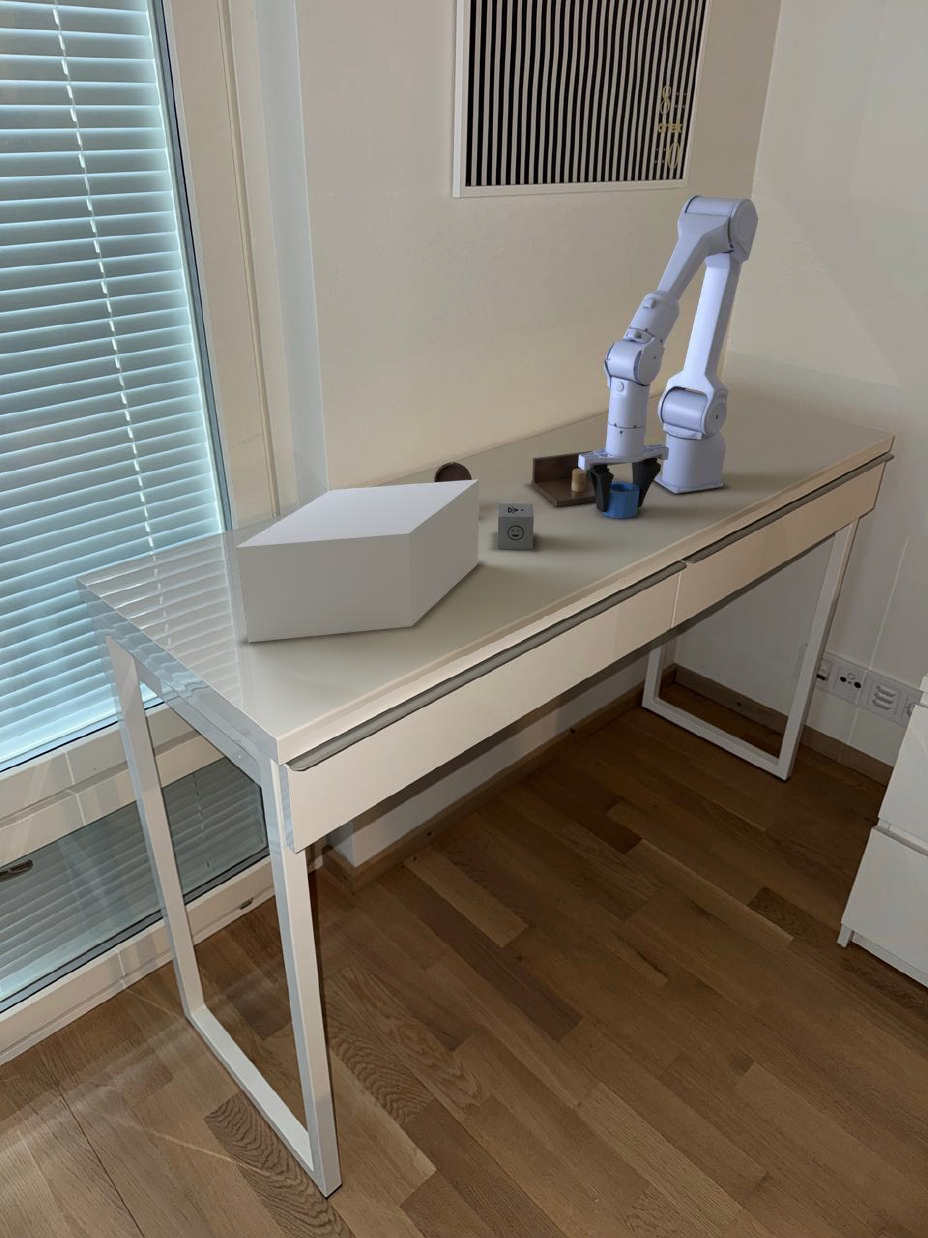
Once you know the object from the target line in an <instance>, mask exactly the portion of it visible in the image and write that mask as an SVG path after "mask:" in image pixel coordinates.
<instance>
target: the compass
mask: <svg viewBox="0 0 928 1238" xmlns="http://www.w3.org/2000/svg"><path fill="white" fill-rule="evenodd" d="M463 480H473V479H472V474H471V472H470V471H469V469H467V467H466V466H465V465H463V464H461V463H458V462H456V461H452V462H450V461H449V462H446V463H444V464H443V465H441V466H440V467H438V469H437V470H436V471H435V474H434V477H433V483H435V482H449V481H463Z"/></svg>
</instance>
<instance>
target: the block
mask: <svg viewBox="0 0 928 1238" xmlns="http://www.w3.org/2000/svg"><path fill="white" fill-rule="evenodd" d="M479 521H480V479H472V480H463V481H449V482H435V483H434V482H423V483H421V482H420V483H410V484H395V485H382V486H381V485H380V486H367V487H365V486H364V487H352V488H340V489H330V490H328V491H326V492H325V493H323V494H322V495H320V496H318V497H317V498H315V499H313V500H312V501H310V502H309V503H306V504H305V505H303V506H302V507H300V508H298V509H297V510H295V511H293V512H292V513H290V514H288V515H287V516H285V517H284V518H282V519H280V520H278V521H277V522H275V523H274V524H272V525H270V526H268V527H267V528H265V529H263V530H262V531H260V532H259V533H257V534H255V535H254V536H252V537H250V538H249V539H247V540H245V541H244V542H242V543H240V544H239V545H237V546H235V551H236V560H237V567H238V575H239V581H240V589H241V597H242V604H243V611H244V612H243V613H244V620H245V626H246V627H245V628H246V634H247V635H246V636H247V641H248V643H255V642H266V641H275V640H285V639H286V640H288V639H297V638H298V639H299V638H306V637H316V636H317V637H318V636H328V635H337V634H347V633H348V634H349V633H357V632H367V631H368V632H369V631H377V630H387V629H398V628H399V629H400V628H408V627H412V626H414V625H415V624H416V623H417V622H418V621H419V620H420V619H421V618H422V617H423V616H424V615H425V614H427V613H428V612H429V610H431V609H432V608H433V607H434V606H435V605H436V604H437V603H438V602H439V601H440V600H441V599H442V598H443V597H445V596H446V595H447V594H448V593H449V592H450V591H451V590H452V589H453V588H454V587H455V586H456V585H457V584H459V582H460V581H462V580H463V579H464V578H465V576H467V574H469V573H470V572H472V570H473V569H474V568H475V567H476V566H477V565H478V564H479V537H480V536H479V528H480V527H479V526H480V525H479V524H480V523H479Z"/></svg>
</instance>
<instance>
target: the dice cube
mask: <svg viewBox="0 0 928 1238" xmlns="http://www.w3.org/2000/svg"><path fill="white" fill-rule="evenodd" d="M497 504H498V508H497V512H498V513H497V549H498V550H533V546H534V521H535V516H534V504H533V503H513V502H511V503H509V502H508V503H505V502H498V503H497Z"/></svg>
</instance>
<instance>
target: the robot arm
mask: <svg viewBox="0 0 928 1238" xmlns="http://www.w3.org/2000/svg"><path fill="white" fill-rule="evenodd" d="M758 224H759V217H758V213H757V209H756V206H755V203H754V202H753V200H752V199H751V198H729V197H728V198H727V197H712V196H702V195H698V194H694V195H692V196H690V197H689V198H687V200H686V202H685V203H684V205H683V206H682V209H681V211H680V215H679V217H678V218H677V228H676V229H677V236H678V240H677V241H676V244H675V247H674V248H673V252H672V254H671V256H670V258H669V261H668V263H667V264H666V266H665V267H666V268H665V270H664V272H663V274H662V277H661V278H660V279H661V280H660V282H659V284H658V286H657V288H656V290H655V291H652V292H649V293H647V294H646V295H645V296H644V297H643V299H642V301H641V302H640V305H639V307H638V309H637V311H636V312H635V314H634V316H633V318H632V320H631V322H630V324H629V326H628V328H627V329H626V331H625V333H624V335H623V336H622V338H620V339H618V340H617V341H614V342H613V343H611V345H610V346H609V348H608V350H607V352H606V356H605V359H604V360H603V370H604V373H605V375H606V377H607V382H606V384H607V385H606V387H607V389H608V390H609V404H608V416H607V430H606V431H607V432H606V441H605V447H603V448H600V449H596V450H592V451H593V452H589V453H585V454H579V462H578V467H580V468H581V469H583V470H584V471H585V470H586V471H587V473H588V475H589V478H590V480H591V483H592V486H593V489H594V493H595V498H596V501H595V505H596V509H597V510H598V511H600V513H602V512H607V509H608V500H609V491H610V487H611V483H612V482H613V480H614V477H615V474H614V473H613V472H611V471H610V468H609V466H616V465H624V464H631V471H632V483H633V484H635V485H637V486H638V487H639V499H638V508H641V507H643V503H644V501H645V499H646V495H647V494H648V491H649V489H650V487H651V485H652V483H653V482H654V481H655V482H656V483H658V484H659V485H660V486H663V487H664V488H666V489H667V490H668V491H670V492H672V493H673V494H684V493H691V492H698V491H704V490H710V489H711V490H712V489H717V488H723V487H724V483H723V482H722V477H723V471H724V464H725V457H726V441H725V437H724V435H723V434H722V432H720V430H721V429H722V427H723V426H724V424H725V421H726V419H727V414H728V408H727V407H728V406H727V404H728V396H729V390H728V388H727V386H726V385H725V384H724V383H723V382H722V380H721V379H720V378H719V377H718V375H717V371H718V367H719V365H720V358H721V355H722V351H723V346H724V342H725V338H726V334H727V329H728V326H729V321H730V319H731V318H730V317H731V314H732V309H733V305H734V301H735V297H736V292H737V288H738V285H739V280H740V276H741V271H742V268H743V263H744V262H746V261H748V260H749V259H750V256H751V251H752V249H753V244H754V240H755V237H756V232H757V229H758ZM703 262H704V264H705V265H706V269H705V273H704V277H703V280H702V281H703V282H702V285H701V291H700V293H699V294H700V295H699V299H698V304H697V308H696V312H695V317H694V321H693V326H692V330H691V334H690V339H689V342H688V347H687V352H686V356H685V360H684V365H683V369H682V370H680V371H679V372H677V373H675V374H674V375H673V376H671V377H669V378H668V379H667V382H666V386H665V388H664V391H663V394H662V395H661V396H660V399H659V400H658V404H657V405H658V406H657V416H658V420H659V422H660V423H661V424H662V425H663V426H662V429H663V431H665V432H666V434H665V435H666V436H665V444H663V443H660V444H645V443H646V432H647V431H646V430H647V423H648V422H647V421H648V413H649V402H650V394H651V393H650V392H651V384H652V383H653V382H654V381H655V379H656V378H657V376H658V375H659V374H660V371H661V368H662V363H663V358H664V357H663V356H664V354H665V350H666V347H665V346H664V345H665V344H666V341H667V340H668V338H669V336H670V334H671V332H672V330H673V328H674V326H675V325H676V322H677V320H678V318H679V316H680V315H681V309H680V305H679V300H680V299H681V297H682V296H683V295H684V292H685V291H686V290H687V288H688V286H689V285H690V284H691V282H692V280H693V278H695V275H696V274H697V272H698V271H699V269H700V268H701V266H702V265H703ZM688 389H689V390H688ZM693 390H694V391H693ZM697 391H698V392H697ZM700 392H702V393H700ZM658 460H661V461H662V462H663V463H662V464H661V463H660V462H658ZM661 469H662V471H661ZM660 472H662V473H660Z"/></svg>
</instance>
